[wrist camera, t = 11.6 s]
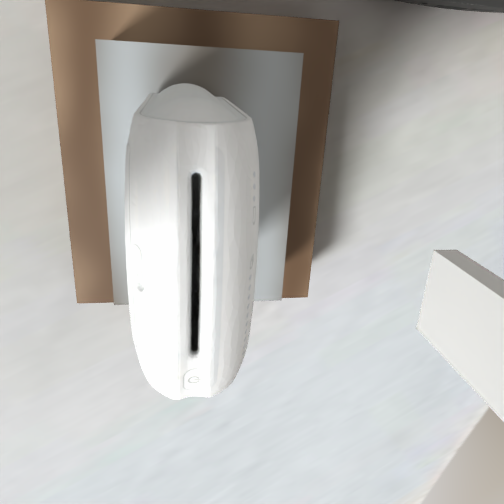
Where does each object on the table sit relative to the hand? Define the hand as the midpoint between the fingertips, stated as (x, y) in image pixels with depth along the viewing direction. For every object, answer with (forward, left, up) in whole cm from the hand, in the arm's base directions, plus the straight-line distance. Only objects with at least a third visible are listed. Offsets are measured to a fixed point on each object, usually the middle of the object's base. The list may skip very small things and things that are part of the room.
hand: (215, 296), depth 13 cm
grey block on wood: (0, 0, -21) cm, 21 cm away
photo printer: (-1, 0, -13) cm, 13 cm away
